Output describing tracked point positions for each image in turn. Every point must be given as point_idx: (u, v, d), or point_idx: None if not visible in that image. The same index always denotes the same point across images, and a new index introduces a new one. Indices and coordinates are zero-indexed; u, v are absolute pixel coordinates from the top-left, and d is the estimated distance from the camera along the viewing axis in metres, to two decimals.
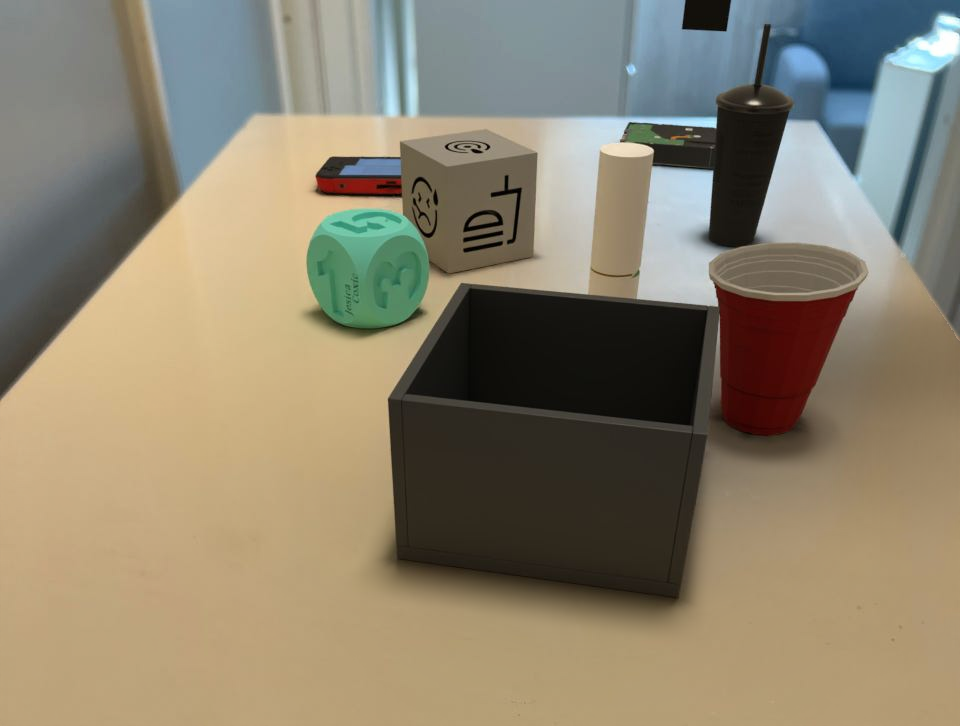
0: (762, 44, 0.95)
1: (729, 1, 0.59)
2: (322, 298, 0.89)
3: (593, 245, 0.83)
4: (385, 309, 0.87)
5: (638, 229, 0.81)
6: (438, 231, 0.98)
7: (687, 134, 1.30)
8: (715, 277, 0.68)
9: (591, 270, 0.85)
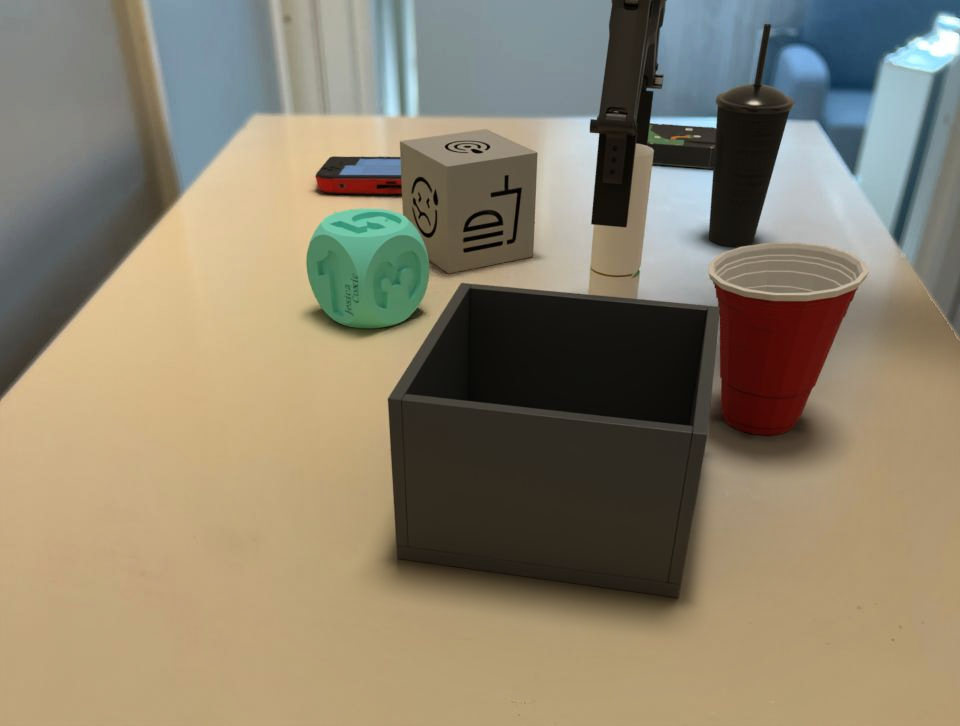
0: (762, 44, 0.95)
1: (627, 206, 0.75)
2: (322, 298, 0.89)
3: (593, 245, 0.83)
4: (385, 309, 0.87)
5: (638, 229, 0.81)
6: (438, 231, 0.98)
7: (687, 134, 1.30)
8: (715, 277, 0.68)
9: (591, 270, 0.85)
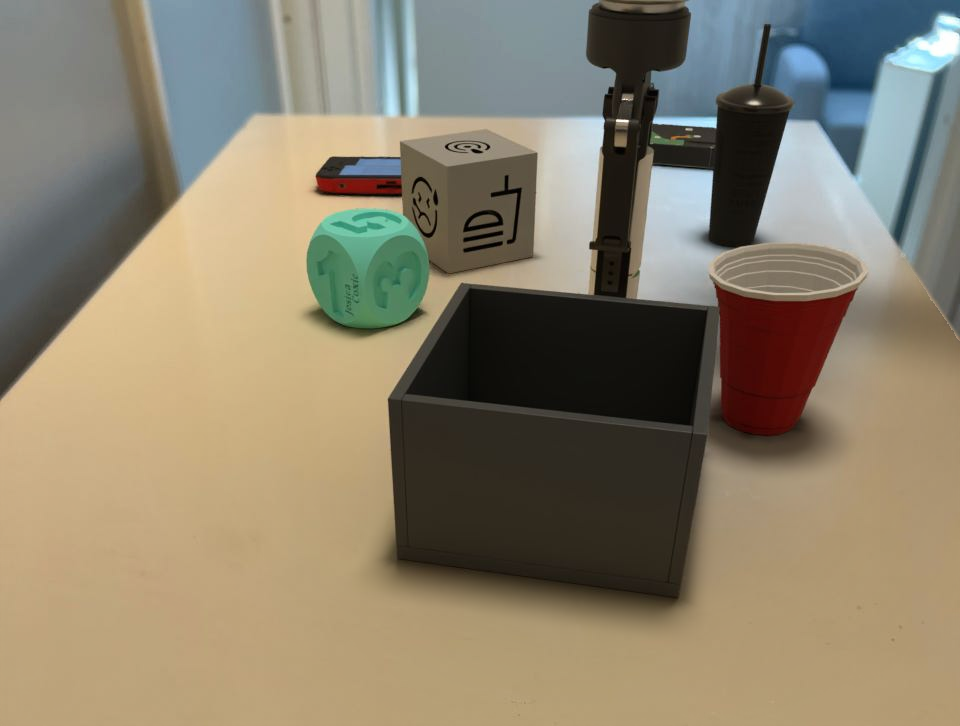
0: (762, 44, 0.95)
1: None
2: (322, 298, 0.89)
3: None
4: (385, 309, 0.87)
5: (638, 229, 0.81)
6: (438, 231, 0.98)
7: (687, 134, 1.30)
8: (715, 277, 0.68)
9: (591, 270, 0.85)
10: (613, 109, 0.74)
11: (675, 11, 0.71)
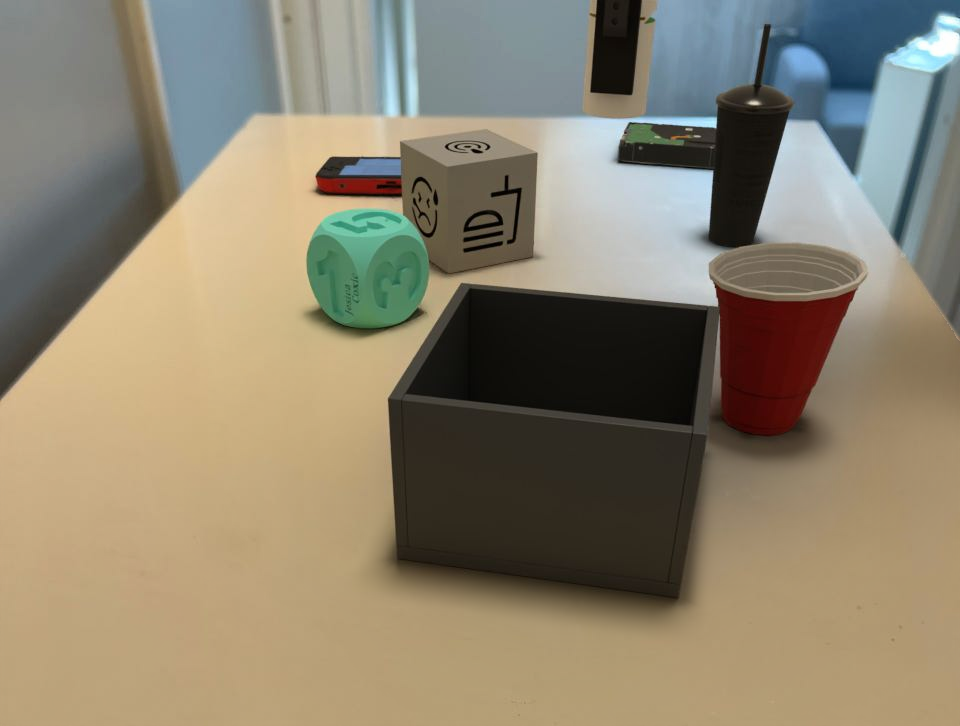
0: (762, 44, 0.95)
1: (632, 68, 0.63)
2: (322, 298, 0.89)
3: None
4: (385, 309, 0.87)
5: None
6: (438, 231, 0.98)
7: (687, 134, 1.30)
8: (715, 277, 0.68)
9: (590, 17, 0.63)
10: None
11: None
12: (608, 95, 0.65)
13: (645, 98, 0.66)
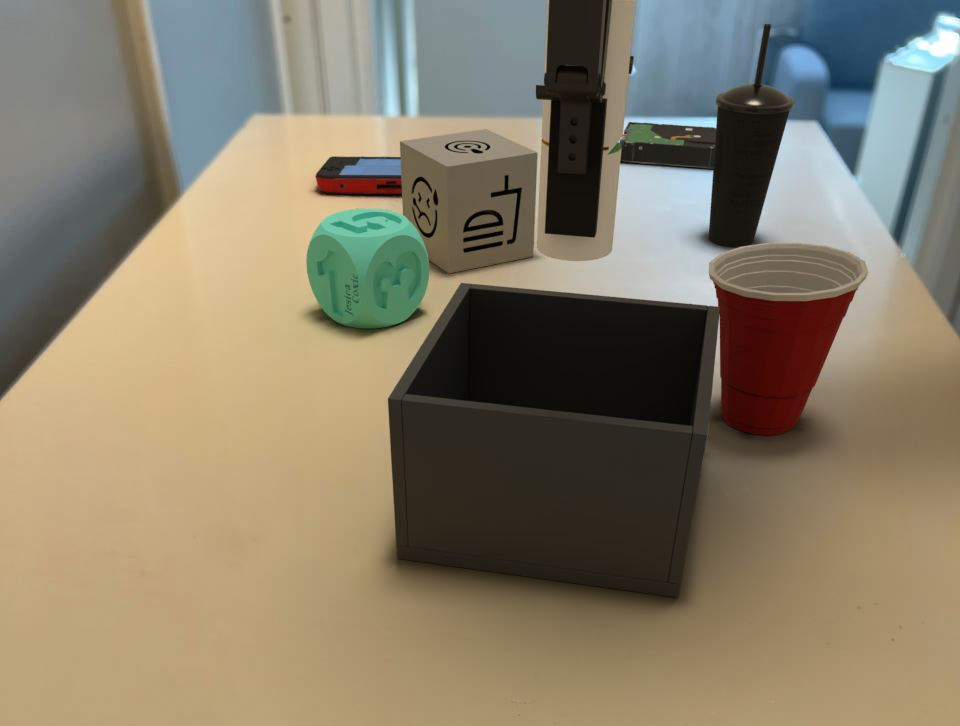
0: (762, 44, 0.95)
1: (595, 207, 0.52)
2: (322, 298, 0.89)
3: None
4: (385, 309, 0.87)
5: (618, 66, 0.49)
6: (438, 231, 0.98)
7: (687, 134, 1.30)
8: (715, 277, 0.68)
9: (543, 144, 0.52)
10: None
11: None
12: (566, 235, 0.54)
13: (612, 235, 0.55)
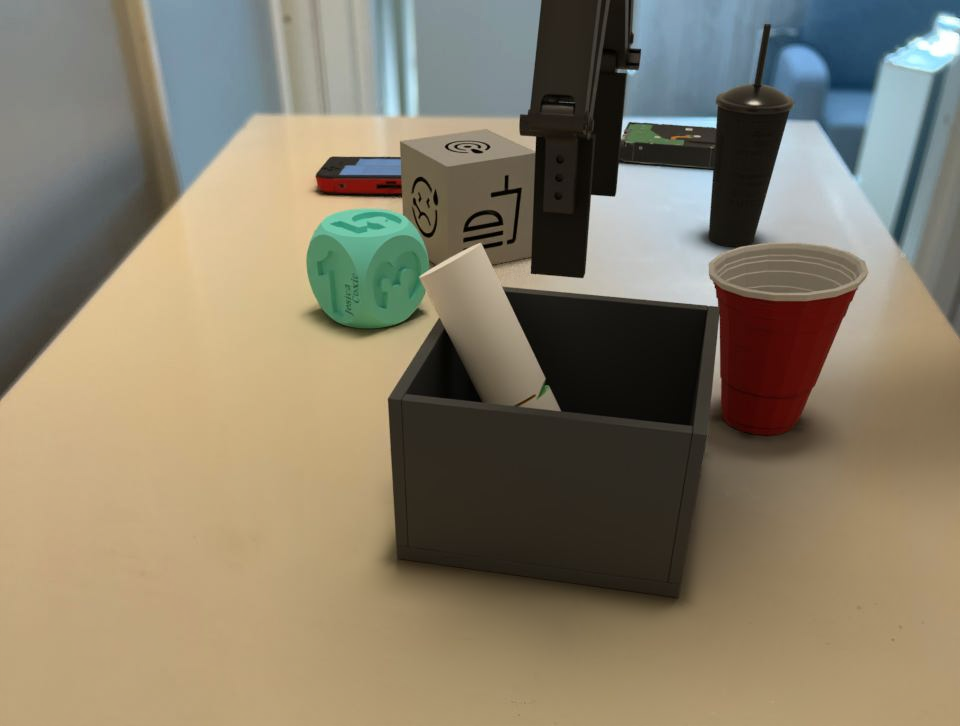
0: (762, 44, 0.95)
1: (583, 247, 0.49)
2: (322, 298, 0.89)
3: (474, 386, 0.63)
4: (385, 309, 0.87)
5: (511, 339, 0.61)
6: (438, 231, 0.98)
7: (687, 134, 1.30)
8: (715, 277, 0.68)
9: None
10: None
11: None
12: None
13: None
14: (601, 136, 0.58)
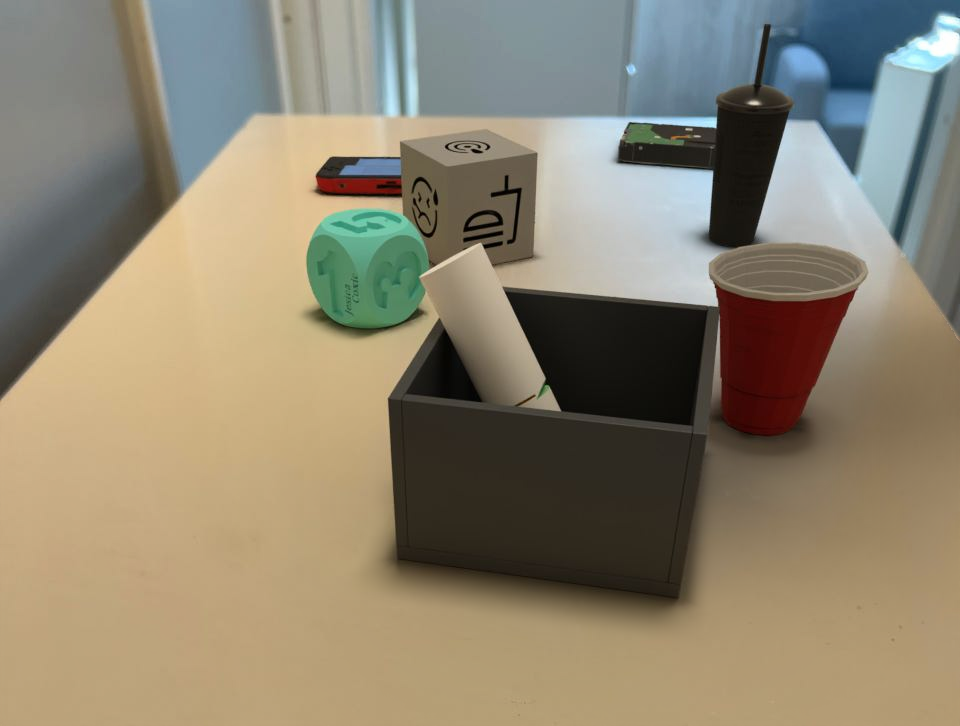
0: (762, 44, 0.95)
1: None
2: (322, 298, 0.89)
3: (474, 386, 0.63)
4: (385, 309, 0.87)
5: (511, 339, 0.61)
6: (438, 231, 0.98)
7: (687, 134, 1.30)
8: (715, 277, 0.68)
9: None
10: None
11: None
12: None
13: None
14: None
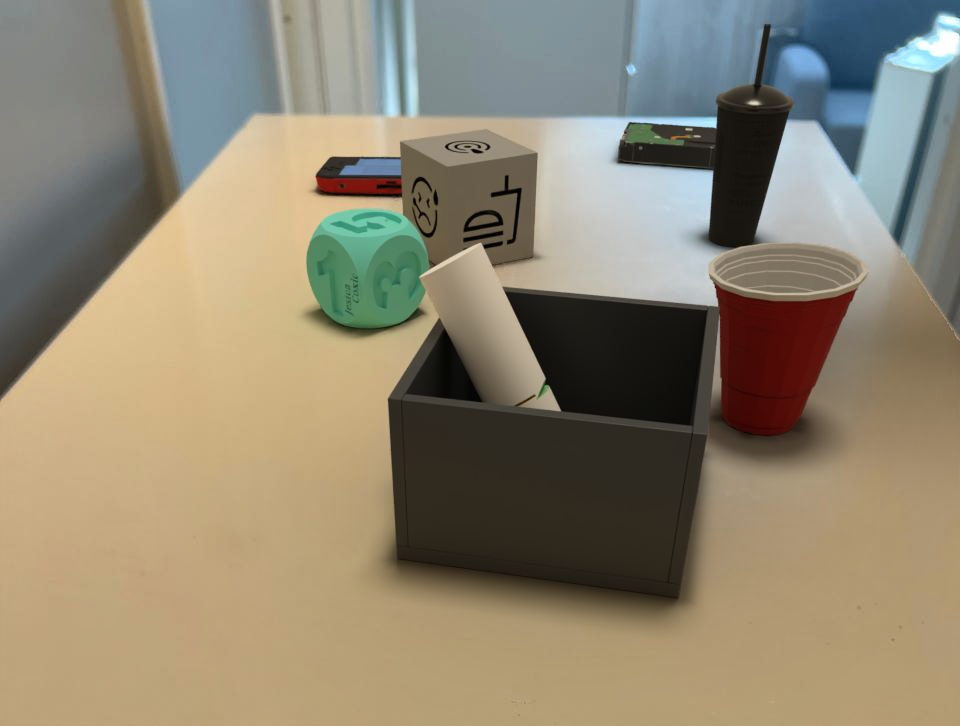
0: (762, 44, 0.95)
1: None
2: (322, 298, 0.89)
3: (474, 386, 0.63)
4: (385, 309, 0.87)
5: (511, 339, 0.61)
6: (438, 231, 0.98)
7: (687, 134, 1.30)
8: (715, 277, 0.68)
9: None
10: None
11: None
12: None
13: None
14: None
